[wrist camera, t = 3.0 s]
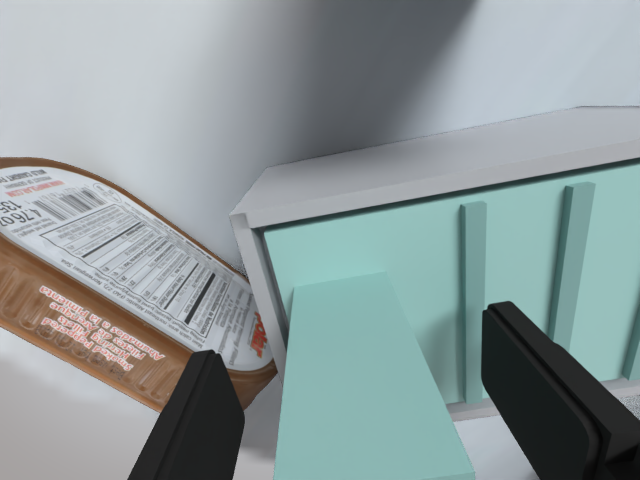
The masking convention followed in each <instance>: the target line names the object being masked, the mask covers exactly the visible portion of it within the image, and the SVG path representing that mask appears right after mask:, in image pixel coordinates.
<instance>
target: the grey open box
mask: <svg viewBox="0 0 640 480" xmlns="http://www.w3.org/2000/svg"><path fill="white" fill-rule="evenodd" d="M638 157H640V106H581V107H576V108H571V109H565V110H560V111H555V112H550V113H545V114H539V115H534V116H529V117H524V118H519V119H514V120H508V121H503V122H498V123H493V124H488V125H483V126H477V127H472V128H467V129H462V130H457V131H452V132H446V133H441V134H436V135H431V136H426V137H421V138H415V139H410V140H405V141H400V142H395V143H390V144H384V145H379V146H374V147H369V148H364V149H359V150H353V151H348V152H343V153H338V154H333V155H327V156H322V157H317V158H312V159H307V160H302V161H296V162H291V163H286V164H281V165H276V166H271V167H267V168H266V169H265V170H264V172H263V173H262V174H261V175H260V177H259V178H258V179H257V180H256V182H255V183H254V184H253V185H252V187H251V188H250V189H249V190H248V192H247V193H246V194H245V196H244V197H243V198H242V199H241V201H240V202H239V203H238V204H237V206H236V207H235V208H234V209H233V211H232V212H231V213H230V214H229V218H230V221H231V225H232V228H233V231H234V234H235V237H236V240H237V244H238V247H239V250H240V253H241V256H242V259H243V263H244V266H245V269H246V272H247V275H248V278H249V282H250V285H251V288H252V291H253V294H254V297H255V301H256V304H257V307H258V310H259V313H260V316H261V320H262V323H263V326H264V329H265V332H266V335H267V339H268V342H269V345H270V348H271V351H272V354H273V358H274V361H275V364H276V367H277V370H278V373H279V377H280V380H281V383H282V386H283V385H284V376H285V367H286V358H287V349H288V339H289V330H290V327H289V323H288V319H287V316H286V312H285V309H284V305H283V301H282V298H281V294H280V290H279V287H278V283H277V280H276V276H275V272H274V269H273V265H272V261H271V258H270V254H269V251H268V247H267V243H266V240H265V236H264V232H265V229H266V227H267V225H272V224H277V223H283V222H288V221H294V220H299V219H304V218H310V217H315V216H321V215H326V214H332V213H337V212H343V211H348V210H354V209H359V208H365V207H370V206H375V205H381V204H386V203H392V202H397V201H403V200H408V199H414V198H419V197H425V196H430V195H436V194H441V193H447V192H452V191H457V190H463V189H468V188H474V187H479V186H485V185H490V184H496V183H501V182H507V181H512V180H518V179H523V178H528V177H534V176H539V175H545V174H550V173H556V172H561V171H567V170H572V169H578V168H583V167H589V166H594V165H599V164H605V163H610V162H616V161H621V160H627V159H632V158H638ZM599 382H600V383H601V384H602V385H603V386H604V387H605V388H606V389H607V390H608V391H609V392H610V393H611V394H612V395H613V396H615V397H616V398H622V397H629V396H636V395H640V379H638V380H631V381H628V380H627V379H626V378H620V379H613V380H606V381H599ZM445 405H446V408H447V410H448V412H449V414H450V417H451V419H452V421H453V422H455V421H462V420H469V419H476V418H483V417H490V416H497V415H500V413H499V411H498V410H497V408H496V406H495V405H494V403H493V402H492V400H491V398H483V399H482V402H480V403H473V404H467V405H466V403H465V401H463V402H456V403H449V404H445Z"/></svg>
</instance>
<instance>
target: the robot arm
mask: <svg viewBox="0 0 640 480" xmlns="http://www.w3.org/2000/svg"><path fill="white" fill-rule="evenodd" d="M481 380H482V383H483V386H484V388H485V390H486V392H487V393H488V395H489V397H490V398H491V400H492V402H493V403H494V405H495V406H496V408H497V410H498V411H499V413H500V415H501V416H502V418H503V420H504V421H505V423H506V424H507V426H508V428H509V429H510V431H511V433H512V434H513V436H514V438H515V439H516V441H517V442H518V444H519V446H520V447H521V449H522V451H523V452H524V454H525V456H526V457H527V459H528V460H529V462H530V464H531V465H532V467H533V469H534V470H535V472H536V474H537V475H538V477H539V478H540V480H640V420H639V419H638V418H636V417H635V416H634V415H633V414H632V413H631V412H630V411H629V410H628V409H627V408H626V407H625V406H624V405H623V404H622V403H621V402H620V401H619V400H618V399H617V398H616V397H615V396H613V395H612V394H611V393H610V392H609V391H608V390H607V389H606V388H605V387H604V386H603V385H602V384H601V383H600V382H599V381H598V380H597V379H596V378H595V377H594V376H593V375H592V374H590V373H589V372H588V371H587V370H586V369H585V368H584V367H583V366H582V365H581V364H580V363H579V362H578V361H577V360H576V359H575V358H574V357H573V356H572V355H571V354H570V353H569V352H567V351H566V350H565V349H564V348H563V347H562V346H560V345H559V344H557V343H554V342H553V341H552V340H551V339H550V338H549V337H548V336H547V335H546V334H545V333H544V332H543V331H542V330H541V329H540V328H538V327H537V326H536V325H535V324H534V323H533V322H532V321H531V320H530V319H529V318H528V317H527V316H526V315H525V314H524V313H523V312H522V311H521V310H520V309H519V308H518V307H517V306H516V305H515V304H514V303H513V302H511V301H504V302H498V303H492V304H489V305H488V307H487V309H486V310H483V312H482V345H481ZM244 424H245V416H244V411H243V409H242V406H241V404H240V401H239V399H238V396H237V394H236V391H235V389H234V386H233V384H232V381H231V379H230V376H229V374H228V371H227V369H226V366H225V364H224V361H223V359H222V356H221V354H220V353H215V351H214V350H212V349H210V350H204V351H198V352H194V353H192V355H191V356H190V358H189V360H188V362H187V364H186V366H185V368H184V370H183V372H182V374H181V376H180V378H179V380H178V382H177V384H176V386H175V389H174V391H173V393H172V395H171V397H170V399H169V401H168V403H167V404H166V405H165V407H164V408H163V410H162V412H161V413H160V415H159V417H158V419H157V421H156V423H155V425H154V427H153V429H152V432H151V433H150V436H149V437H148V439H147V442H146V443H145V445H144V447H143V450H142V451H141V454H140V455H139V457H138V460H137V461H136V463H135V465H134V467H133V469H132V471H131V474H130V475H129V478H128V479H127V480H232V479H233V475H234V470H235V465H236V461H237V457H238V452H239V447H240V443H241V438H242V434H243V429H244Z"/></svg>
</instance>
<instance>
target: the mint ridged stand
mask: <svg viewBox="0 0 640 480" xmlns="http://www.w3.org/2000/svg"><path fill="white" fill-rule="evenodd" d="M264 236H265V240H266V243H267V247H268V251H269V254H270V258H271V261H272V265H273V269H274V272H275V276H276V280H277V283H278V287H279V290H280V294H281V298H282V301H283V305H284V309H285V312H286V316H287V319H288V323H289V327H290V330H289V339H288V349H287V358H286V367H285V376H284V385H283V394H282V403H281V413H280V422H279V431H278V440H277V449H276V458H275V467H274V477H273V480H475V471H474V469H473V466H472V464H471V462H470V460H469V457H468V455H467V453H466V451H465V448H464V446H463V444H462V441H461V439H460V437H459V435H458V432H457V430H456V428H455V426H454V423H453V421H452V419H451V417H450V414H449V412H448V410H447V408H446V405H445V404H449V403H456V402H463V401H465V403H466V405H467V404H473V403H480V402H482V399H483V398H490V397H489V395H488V393H487V392H486V390H485V388H484V386H483V383H482V380H481V345H482V312H483V310H486V309H487V307H488V305H489V304H492V303H498V302H504V301H511V302H513V303H514V304H515V305H516V306H517V307H518V308H519V309H520V310H521V311H522V312H523V313H524V314H525V315H526V316H527V317H528V318H529V319H530V320H531V321H532V322H533V323H534V324H535V325H536V326H537V327H538V328H540V329H541V330H542V331H543V332H544V333H545V334H546V335H547V336H548V337H549V338H550V339H551V340H552V341H553V342H554V343H557V344H559V345H560V346H562V347H563V348H564V349H565V350H566V351H567V352H569V353H570V354H571V355H572V356H573V357H574V358H575V359H576V360H577V361H578V362H579V363H580V364H581V365H582V366H583V367H584V368H585V369H586V370H587V371H588V372H589V373H590V374H592V375H593V376H594V377H595V378H596V379H597V380H598V381H606V380H613V379H620V378H626V379H627V380H628V381H631V380H638V379H640V157H638V158H632V159H627V160H621V161H616V162H610V163H605V164H599V165H594V166H589V167H583V168H578V169H572V170H567V171H561V172H556V173H550V174H545V175H539V176H534V177H528V178H523V179H518V180H512V181H507V182H501V183H496V184H490V185H485V186H479V187H474V188H468V189H463V190H457V191H452V192H447V193H441V194H436V195H430V196H425V197H419V198H414V199H408V200H403V201H397V202H392V203H386V204H381V205H375V206H370V207H365V208H359V209H354V210H348V211H343V212H337V213H332V214H326V215H321V216H315V217H310V218H304V219H299V220H294V221H288V222H283V223H277V224H272V225H267V227H266V229H265V232H264Z"/></svg>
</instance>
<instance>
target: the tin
mask: <svg viewBox="0 0 640 480" xmlns="http://www.w3.org/2000/svg"><path fill="white" fill-rule="evenodd" d="M0 327H2V328H4V329H5V330H7V331H9V332H11V333H13V334H15V335H17V336H18V337H20V338H22V339H24V340H26V341H27V342H29V343H31V344H33V345H35V346H37V347H39V348H41V349H43V350H45V351H47V352H49V353H50V354H52V355H54V356H56V357H58V358H60V359H61V360H63V361H65V362H68V363H70V364H71V365H73V366H75V367H77V368H78V369H80V370H82V371H84V372H86V373H87V374H89V375H91V376H93V377H95V378H97V379H99V380H100V381H102V382H104V383H106V384H107V385H109V386H111V387H113V388H115V389H117V390H118V391H120V392H122V393H124V394H126V395H128V396H129V397H131V398H133V399H135V400H136V401H138V402H140V403H142V404H144V405H146V406H148V407H149V408H151V409H153V410H155V411H157V412H159V413H161V412H162V410H163V408H164V407H165V405H166V404H167V403H168V401H169V399H170V397H171V395H172V393H173V391H174V389H175V386H176V384H177V382H178V380H179V378H180V376H181V374H182V372H183V370H184V368H185V366H186V364H187V362H188V360H189V358H190V356H191V355H192V353H194V352H198V351H204V350H210V349H212V350H214V351H215V353H220V354H221V356H222V359H223V361H224V364H225V366H226V369H227V371H228V374H229V376H230V379H231V381H232V384H233V386H234V389H235V391H236V394H237V396H238V399H239V401H240V404H241V406H242V409H243V411H244V410H245V409H246V408H247V407H248V406H249V405H250V404H251V403H252V401H253V400H254V398H255V397H256V395H257V394H258V393H259V392H260V391H261V390H262V389H263V388H264V387H265V386H266V385H267V384H268V383H269V382H270V381H271V380H272V379H273V378H274V377H275V375H276V374H277V373H278V370H277V367H276V364H275V361H274V358H273V354H272V351H271V348H270V345H269V342H268V339H267V335H266V332H265V329H264V326H263V323H262V320H261V316H260V313H259V310H258V307H257V304H256V301H255V297H254V294H253V291H252V288H251V285H250V282H249V280H248V279H247V278H246V277H245V276H243V275H242V274H241V273H239V272H238V271H237V270H235V269H234V268H233V267H231V266H230V265H229V264H227V263H226V262H225V261H223V260H222V259H220V258H219V257H218V256H216V255H215V254H214V253H212V252H211V251H209V250H208V249H207V248H205V247H204V246H203V245H201V244H200V243H199V242H197V241H196V240H195V239H193V238H192V237H190V236H189V235H188V234H186V233H185V232H184V231H182V230H181V229H179V228H178V227H177V226H175V225H174V224H172V223H171V222H170V221H168V220H167V219H166V218H164V217H163V216H161V215H160V214H159V213H157V212H156V211H154V210H153V209H152V208H150V207H149V206H147V205H146V204H145V203H143V202H142V201H140V200H139V199H138V198H136V197H135V196H133V195H132V194H130V193H129V192H127V191H126V190H124V189H122V188H121V187H119V186H117V185H116V184H114V183H112V182H110V181H108V180H106V179H104V178H102V177H100V176H97V175H95V174H93V173H90V172H88V171H86V170H83V169H80V168H77V167H74V166H71V165H68V164H65V163H61V162H57V161H53V160H49V159H43V158H32V157H0Z"/></svg>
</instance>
